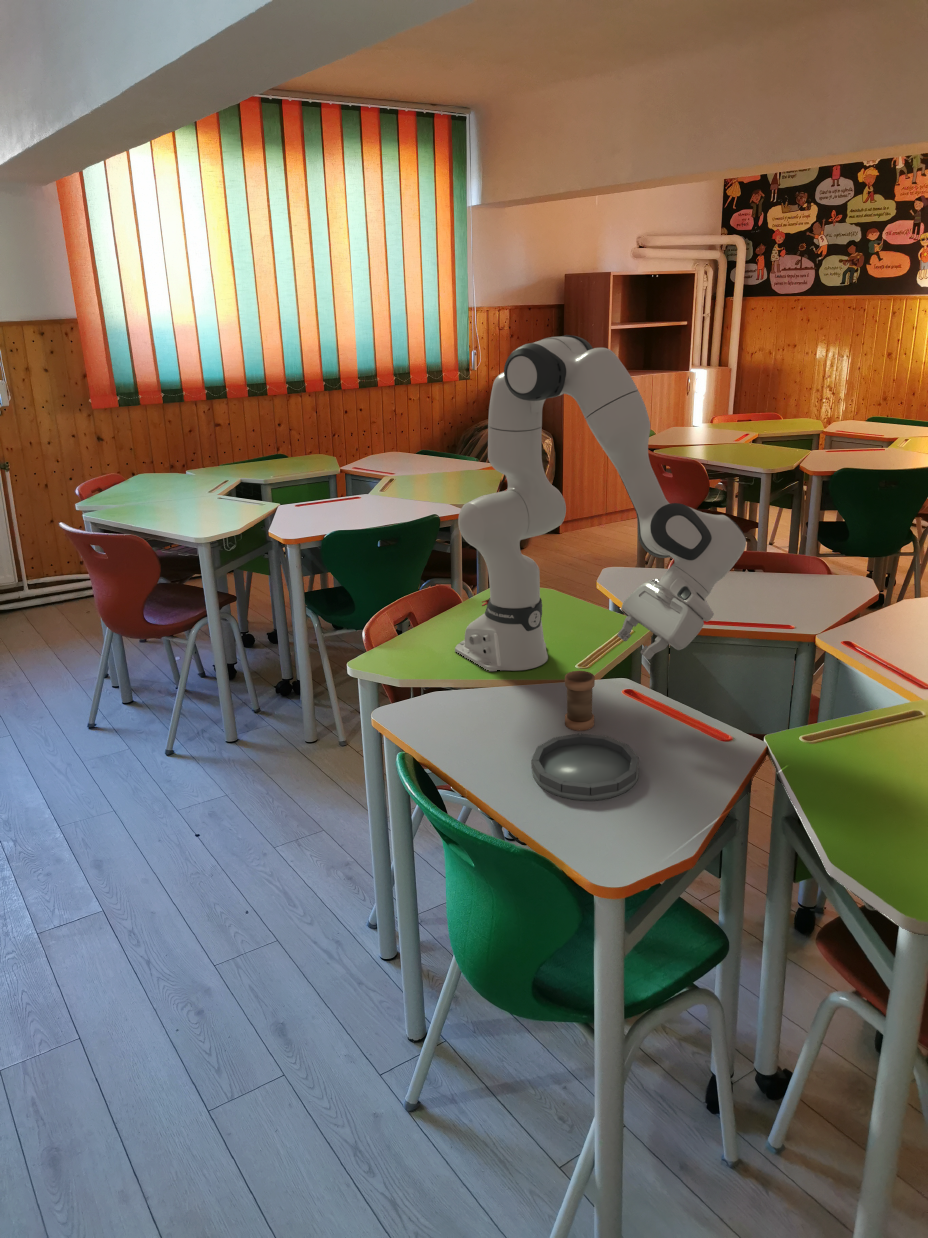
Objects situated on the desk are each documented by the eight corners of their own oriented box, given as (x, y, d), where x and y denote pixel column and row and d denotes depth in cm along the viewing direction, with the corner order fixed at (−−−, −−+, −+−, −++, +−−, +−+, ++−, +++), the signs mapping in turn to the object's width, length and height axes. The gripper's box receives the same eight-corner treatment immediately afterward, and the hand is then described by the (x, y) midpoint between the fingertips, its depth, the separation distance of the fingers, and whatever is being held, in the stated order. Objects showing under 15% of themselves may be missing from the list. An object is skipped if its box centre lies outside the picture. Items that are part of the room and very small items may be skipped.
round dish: (510, 773, 155) (510, 760, 154) (578, 735, 167) (578, 723, 166) (592, 813, 143) (593, 800, 142) (659, 770, 154) (660, 757, 153)
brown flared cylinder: (559, 724, 171) (558, 677, 168) (577, 714, 175) (577, 668, 171) (581, 733, 168) (581, 686, 164) (600, 723, 171) (600, 676, 168)
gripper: (643, 566, 176) (598, 620, 177) (698, 598, 158) (647, 658, 159) (662, 585, 179) (617, 637, 180) (719, 618, 161) (668, 676, 161)
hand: (632, 647), depth 169 cm, fingers open, 8 cm apart
